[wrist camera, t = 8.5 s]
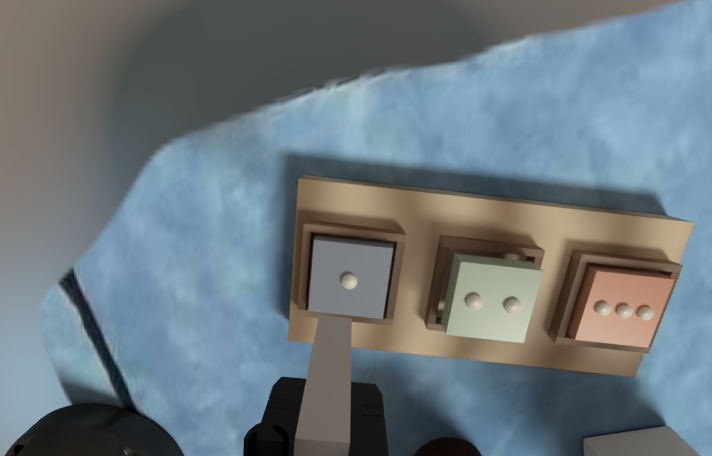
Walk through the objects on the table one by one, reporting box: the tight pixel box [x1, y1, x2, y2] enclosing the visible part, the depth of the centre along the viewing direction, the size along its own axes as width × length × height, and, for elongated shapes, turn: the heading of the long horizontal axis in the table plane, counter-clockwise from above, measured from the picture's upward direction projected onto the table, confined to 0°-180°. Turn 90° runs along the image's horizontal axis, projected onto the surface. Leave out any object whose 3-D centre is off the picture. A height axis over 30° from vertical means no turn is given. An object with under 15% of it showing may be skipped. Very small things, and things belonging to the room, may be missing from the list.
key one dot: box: [308, 233, 393, 319], centre depth 23 cm, size 5×5×2 cm
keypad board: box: [288, 175, 694, 377], centre depth 24 cm, size 26×12×3 cm, turn 84°
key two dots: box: [441, 253, 543, 343], centre depth 22 cm, size 5×5×2 cm
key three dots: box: [566, 263, 675, 348], centre depth 23 cm, size 5×5×2 cm
